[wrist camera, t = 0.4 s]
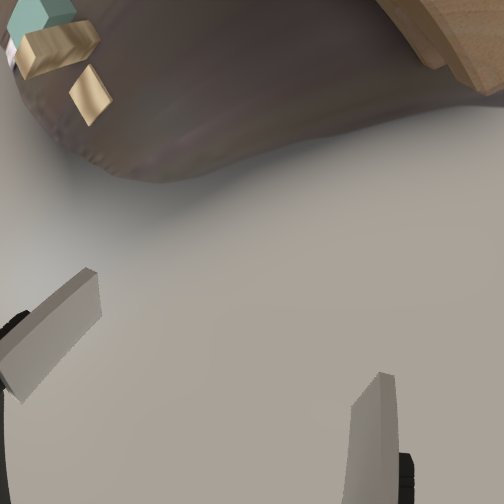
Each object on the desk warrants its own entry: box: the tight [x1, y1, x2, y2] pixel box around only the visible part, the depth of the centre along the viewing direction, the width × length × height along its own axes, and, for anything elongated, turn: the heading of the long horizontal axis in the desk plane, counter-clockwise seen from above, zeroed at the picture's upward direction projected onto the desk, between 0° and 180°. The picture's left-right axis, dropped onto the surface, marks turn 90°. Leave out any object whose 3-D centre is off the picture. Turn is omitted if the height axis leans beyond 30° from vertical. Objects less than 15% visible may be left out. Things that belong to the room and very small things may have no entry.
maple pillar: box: [14, 20, 101, 80], centre depth 29 cm, size 5×5×12 cm
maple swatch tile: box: [69, 64, 113, 126], centre depth 40 cm, size 8×8×1 cm
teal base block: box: [7, 0, 77, 49], centre depth 30 cm, size 12×12×6 cm
